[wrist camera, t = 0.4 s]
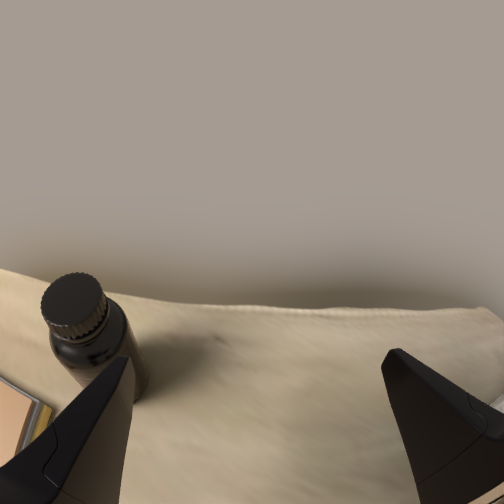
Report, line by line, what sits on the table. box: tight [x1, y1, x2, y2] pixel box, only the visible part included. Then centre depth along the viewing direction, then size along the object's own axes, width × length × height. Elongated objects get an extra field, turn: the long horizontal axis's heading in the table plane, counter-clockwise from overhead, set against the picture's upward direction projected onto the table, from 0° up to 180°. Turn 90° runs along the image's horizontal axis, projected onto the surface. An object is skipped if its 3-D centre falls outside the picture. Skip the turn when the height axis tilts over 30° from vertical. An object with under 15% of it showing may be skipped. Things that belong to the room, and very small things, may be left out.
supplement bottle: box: [41, 272, 148, 402], centre depth 18 cm, size 7×7×12 cm
